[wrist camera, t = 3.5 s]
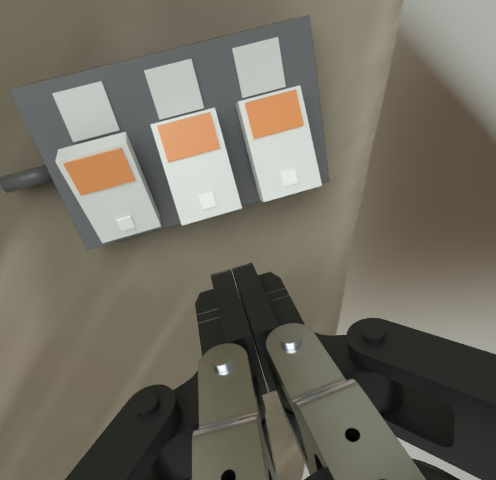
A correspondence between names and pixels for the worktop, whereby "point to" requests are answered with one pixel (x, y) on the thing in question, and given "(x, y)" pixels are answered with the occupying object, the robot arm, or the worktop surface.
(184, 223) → the block
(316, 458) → the robot arm
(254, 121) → the block
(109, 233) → the rocker
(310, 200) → the worktop surface
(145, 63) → the rocker switch panel
